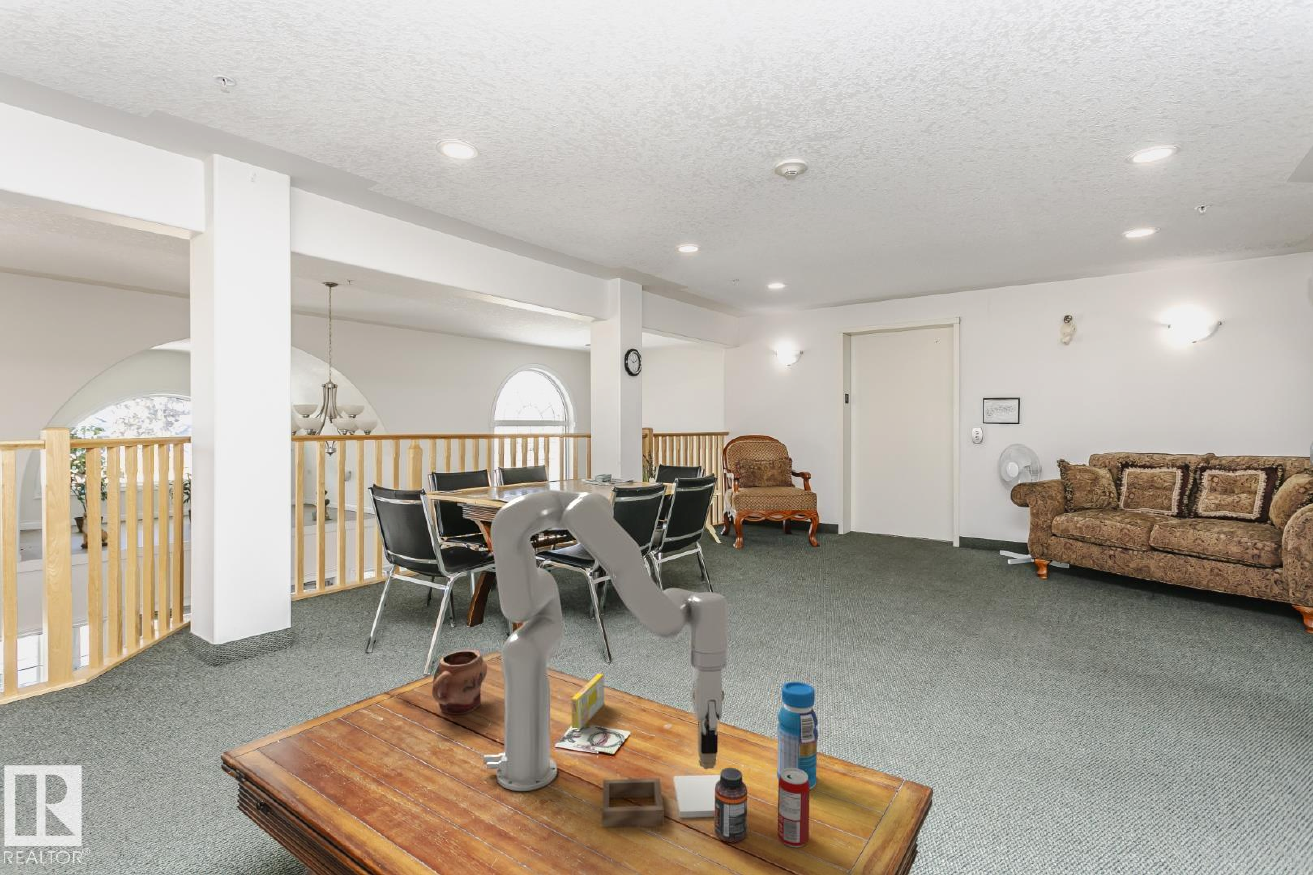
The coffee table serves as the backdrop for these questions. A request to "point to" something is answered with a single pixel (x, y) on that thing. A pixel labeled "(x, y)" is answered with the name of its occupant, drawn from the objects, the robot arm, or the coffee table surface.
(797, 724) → the beverage bottle
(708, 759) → the handle
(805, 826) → the soda can
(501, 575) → the robot arm
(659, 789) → the socket frame
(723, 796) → the supplement bottle
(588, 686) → the candy box
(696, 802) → the plate
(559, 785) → the coffee table surface
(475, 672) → the brown clay mug
